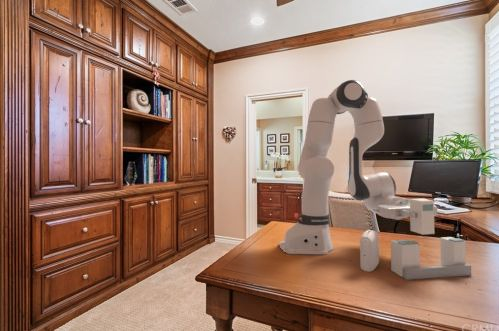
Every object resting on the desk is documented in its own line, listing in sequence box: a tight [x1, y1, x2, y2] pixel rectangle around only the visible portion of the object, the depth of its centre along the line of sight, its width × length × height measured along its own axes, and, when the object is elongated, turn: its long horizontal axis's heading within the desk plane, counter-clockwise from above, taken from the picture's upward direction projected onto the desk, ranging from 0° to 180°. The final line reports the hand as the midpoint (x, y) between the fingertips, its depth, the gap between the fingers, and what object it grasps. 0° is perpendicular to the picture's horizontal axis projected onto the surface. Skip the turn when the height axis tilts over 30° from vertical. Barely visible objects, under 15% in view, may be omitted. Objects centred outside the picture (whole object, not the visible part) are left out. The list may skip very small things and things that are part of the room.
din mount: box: [390, 236, 472, 280], centre depth 79 cm, size 22×7×10 cm, turn 96°
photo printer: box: [359, 229, 380, 273], centre depth 85 cm, size 10×4×12 cm, turn 139°
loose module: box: [409, 198, 435, 235], centre depth 84 cm, size 4×5×11 cm
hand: (423, 214), depth 83 cm, fingers closed on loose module, 4 cm apart
